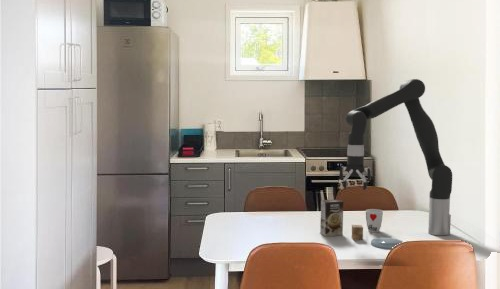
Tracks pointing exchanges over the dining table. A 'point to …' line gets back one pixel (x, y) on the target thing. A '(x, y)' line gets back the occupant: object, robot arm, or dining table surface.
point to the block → (357, 232)
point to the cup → (374, 219)
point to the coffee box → (331, 217)
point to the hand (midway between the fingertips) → (354, 189)
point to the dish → (385, 242)
